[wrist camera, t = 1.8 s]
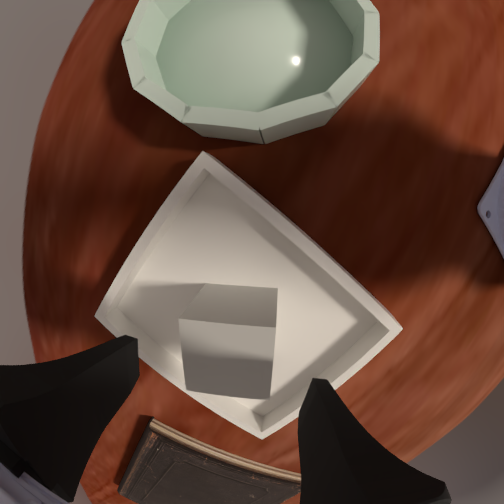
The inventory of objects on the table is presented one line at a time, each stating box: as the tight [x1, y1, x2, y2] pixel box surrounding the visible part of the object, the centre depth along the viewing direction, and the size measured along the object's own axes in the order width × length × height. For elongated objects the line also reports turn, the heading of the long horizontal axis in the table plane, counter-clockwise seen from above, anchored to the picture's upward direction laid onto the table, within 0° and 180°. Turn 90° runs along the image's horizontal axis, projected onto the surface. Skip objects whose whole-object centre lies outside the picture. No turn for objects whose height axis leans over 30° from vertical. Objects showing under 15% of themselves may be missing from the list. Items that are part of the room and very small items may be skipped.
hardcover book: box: [118, 417, 301, 504], centre depth 22 cm, size 16×23×2 cm
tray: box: [94, 151, 403, 439], centre depth 15 cm, size 14×12×2 cm
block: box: [178, 283, 278, 400], centre depth 13 cm, size 4×4×5 cm
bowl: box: [122, 0, 380, 144], centre depth 11 cm, size 13×13×4 cm
